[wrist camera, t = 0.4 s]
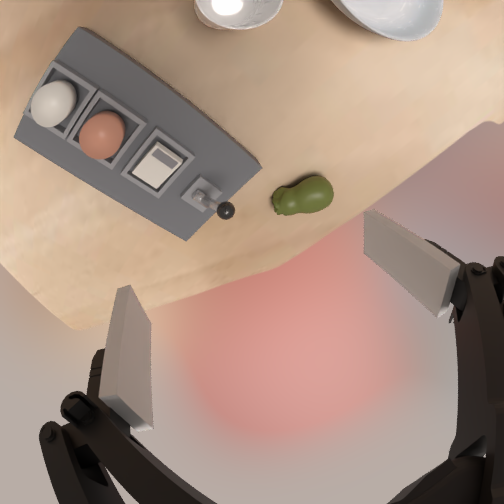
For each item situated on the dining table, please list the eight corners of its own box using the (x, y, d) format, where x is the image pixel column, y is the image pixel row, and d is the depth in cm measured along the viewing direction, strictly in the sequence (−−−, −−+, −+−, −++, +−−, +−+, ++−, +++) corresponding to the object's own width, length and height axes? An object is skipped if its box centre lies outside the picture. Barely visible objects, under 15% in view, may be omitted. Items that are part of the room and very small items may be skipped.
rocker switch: (157, 141, 29) (155, 145, 28) (182, 159, 32) (181, 163, 31) (133, 168, 31) (131, 173, 31) (157, 184, 34) (156, 189, 33)
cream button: (54, 72, 19) (45, 75, 17) (84, 92, 22) (77, 96, 20) (33, 109, 21) (24, 115, 19) (62, 127, 24) (54, 134, 22)
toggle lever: (197, 186, 35) (227, 198, 29) (211, 196, 37) (242, 210, 30) (189, 199, 35) (216, 214, 29) (202, 208, 37) (232, 225, 30)
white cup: (211, 44, 26) (225, 44, 19) (176, 0, 21) (177, -17, 14) (266, 16, 24) (298, 9, 17) (234, -29, 19) (256, -52, 12)
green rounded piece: (339, 211, 42) (280, 229, 44) (330, 191, 46) (275, 208, 48) (335, 183, 38) (270, 204, 40) (324, 165, 42) (265, 184, 44)
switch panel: (85, 27, 19) (73, 26, 16) (256, 159, 39) (265, 173, 36) (23, 129, 24) (8, 141, 21) (185, 229, 44) (187, 248, 41)
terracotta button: (100, 102, 24) (95, 108, 22) (133, 125, 27) (130, 132, 25) (78, 137, 25) (71, 145, 23) (109, 158, 28) (105, 167, 27)
